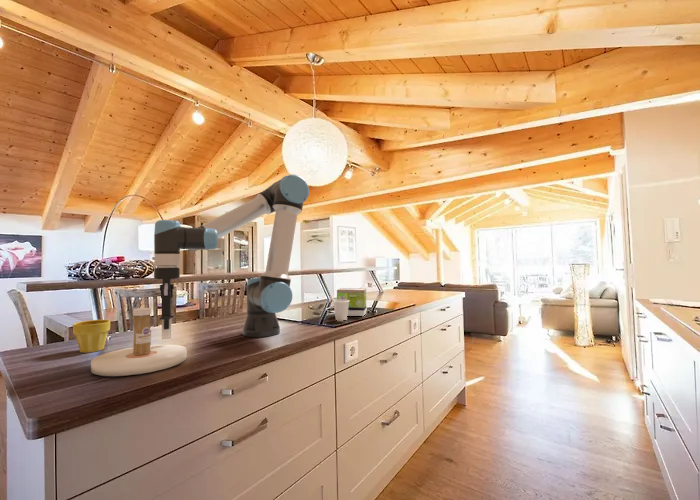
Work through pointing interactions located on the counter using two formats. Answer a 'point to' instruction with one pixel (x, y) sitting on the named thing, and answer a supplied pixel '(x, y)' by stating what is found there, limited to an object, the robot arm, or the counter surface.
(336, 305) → the dixie cup
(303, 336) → the counter surface
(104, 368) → the disc
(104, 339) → the plant pot
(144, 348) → the sprinkles bottle
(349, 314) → the tea box
